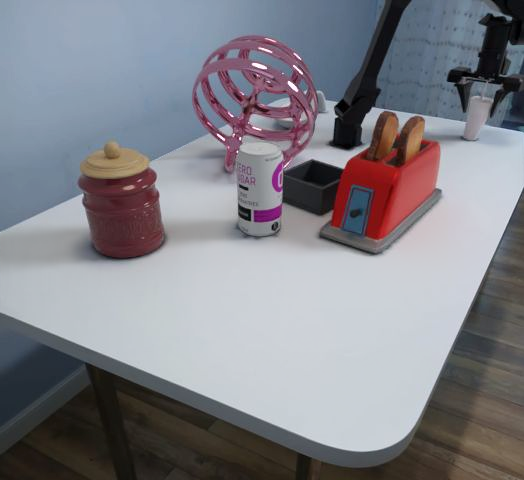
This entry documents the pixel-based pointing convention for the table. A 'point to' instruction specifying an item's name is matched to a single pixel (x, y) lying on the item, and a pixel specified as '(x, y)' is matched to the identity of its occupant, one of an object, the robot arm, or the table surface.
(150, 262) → the table surface
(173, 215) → the table surface
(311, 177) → the bin
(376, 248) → the toaster
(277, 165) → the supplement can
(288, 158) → the spiral basket
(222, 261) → the table surface
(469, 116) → the smoothie
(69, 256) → the table surface
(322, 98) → the spoon rest
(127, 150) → the kitchen canister
